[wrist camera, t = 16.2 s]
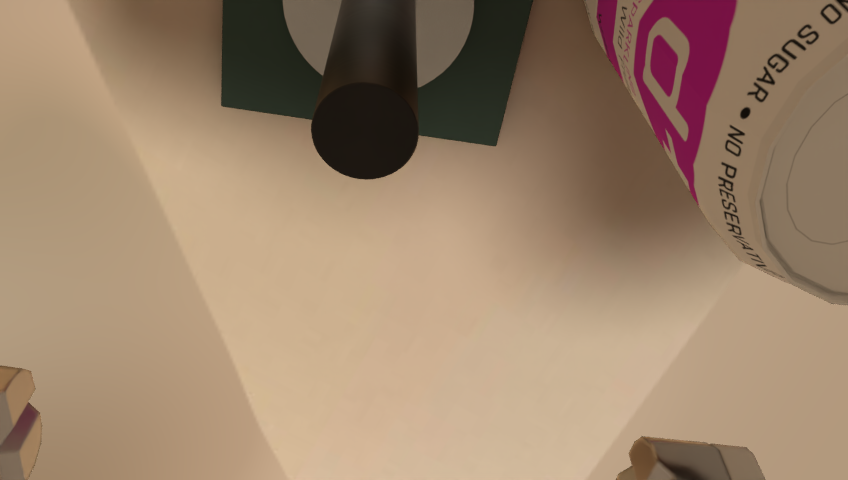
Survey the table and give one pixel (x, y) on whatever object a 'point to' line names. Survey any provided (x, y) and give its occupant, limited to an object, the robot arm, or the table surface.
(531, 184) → the table surface
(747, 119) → the supplement can
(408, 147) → the coffee tamper
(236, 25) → the mat
